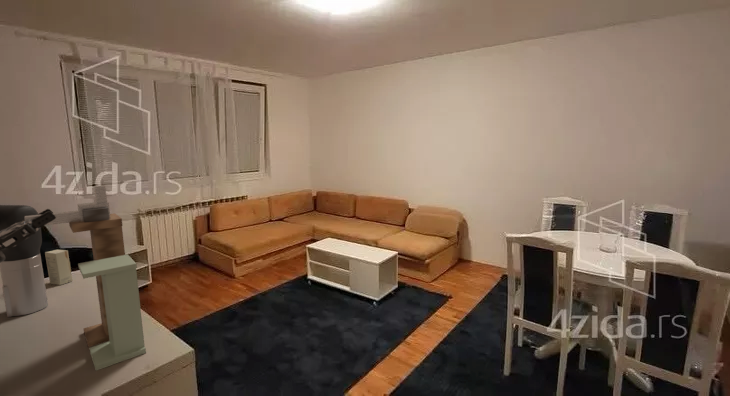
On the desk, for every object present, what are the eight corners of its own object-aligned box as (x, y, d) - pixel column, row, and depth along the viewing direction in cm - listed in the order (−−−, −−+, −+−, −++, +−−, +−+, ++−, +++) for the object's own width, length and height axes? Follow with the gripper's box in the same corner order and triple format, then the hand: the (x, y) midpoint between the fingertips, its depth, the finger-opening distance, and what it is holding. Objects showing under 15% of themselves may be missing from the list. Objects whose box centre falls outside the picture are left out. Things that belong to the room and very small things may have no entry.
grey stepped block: (26, 228, 81) (20, 192, 79) (26, 225, 84) (20, 190, 83) (110, 218, 92) (106, 186, 90) (107, 215, 95) (104, 185, 93)
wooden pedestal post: (88, 347, 89) (70, 212, 84) (83, 332, 96) (66, 207, 91) (134, 332, 96) (120, 207, 90) (127, 319, 103) (113, 202, 98)
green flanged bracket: (95, 370, 80) (82, 274, 76) (90, 352, 87) (78, 263, 83) (146, 352, 86) (136, 263, 83) (137, 337, 94) (127, 254, 90)
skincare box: (73, 281, 133) (69, 250, 131) (60, 285, 129) (55, 253, 127) (62, 279, 135) (57, 248, 133) (48, 283, 131) (44, 252, 129)
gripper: (-54, 255, 69) (41, 204, 78) (-44, 241, 80) (39, 197, 89) (-21, 281, 73) (66, 229, 82) (-15, 265, 83) (62, 220, 92)
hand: (52, 213), depth 85 cm, fingers open, 4 cm apart
